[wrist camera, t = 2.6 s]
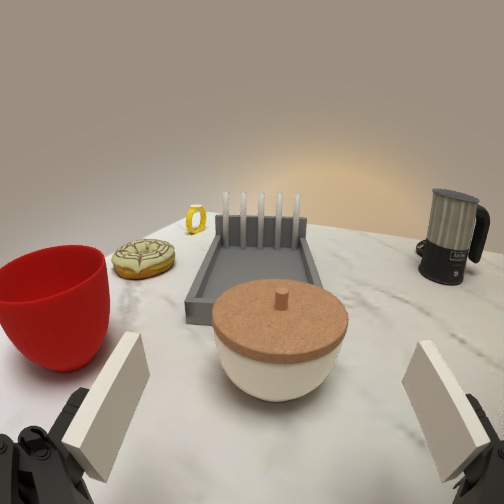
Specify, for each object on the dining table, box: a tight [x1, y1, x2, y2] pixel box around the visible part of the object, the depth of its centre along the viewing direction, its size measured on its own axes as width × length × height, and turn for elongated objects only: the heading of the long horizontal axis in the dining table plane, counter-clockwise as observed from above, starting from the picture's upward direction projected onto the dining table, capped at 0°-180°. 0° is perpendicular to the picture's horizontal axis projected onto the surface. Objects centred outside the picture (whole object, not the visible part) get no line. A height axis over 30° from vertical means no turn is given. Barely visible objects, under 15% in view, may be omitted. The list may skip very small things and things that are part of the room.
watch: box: [186, 205, 206, 234], centre depth 65 cm, size 6×3×6 cm, turn 155°
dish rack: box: [184, 192, 323, 325], centre depth 43 cm, size 16×24×11 cm, turn 178°
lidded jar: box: [212, 279, 348, 402], centre depth 24 cm, size 11×11×9 cm
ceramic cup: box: [0, 245, 110, 372], centre depth 27 cm, size 13×17×10 cm
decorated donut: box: [111, 239, 175, 279], centre depth 48 cm, size 10×11×4 cm
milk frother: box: [416, 189, 490, 285], centre depth 47 cm, size 14×16×15 cm
